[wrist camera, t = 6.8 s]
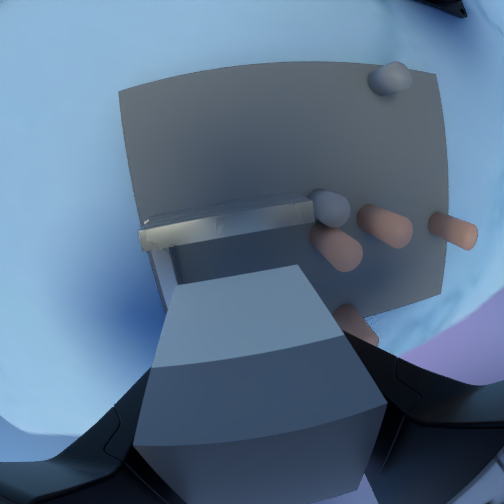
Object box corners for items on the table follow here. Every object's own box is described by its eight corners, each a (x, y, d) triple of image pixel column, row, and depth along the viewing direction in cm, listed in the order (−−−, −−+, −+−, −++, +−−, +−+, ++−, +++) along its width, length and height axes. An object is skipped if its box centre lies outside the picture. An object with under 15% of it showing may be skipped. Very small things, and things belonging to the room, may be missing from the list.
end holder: (292, 190, 13) (312, 200, 10) (305, 329, 15) (321, 363, 13) (149, 216, 13) (130, 232, 10) (187, 349, 15) (182, 386, 12)
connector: (304, 357, 11) (357, 490, 5) (203, 375, 10) (202, 516, 5) (297, 264, 9) (387, 402, 4) (175, 285, 9) (133, 445, 3)
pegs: (432, 78, 11) (467, 71, 9) (436, 296, 16) (463, 318, 13) (285, 68, 11) (303, 46, 8) (314, 332, 16) (331, 365, 13)
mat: (429, 76, 12) (435, 74, 11) (435, 290, 17) (440, 293, 16) (122, 94, 11) (118, 91, 11) (180, 347, 16) (179, 353, 15)
